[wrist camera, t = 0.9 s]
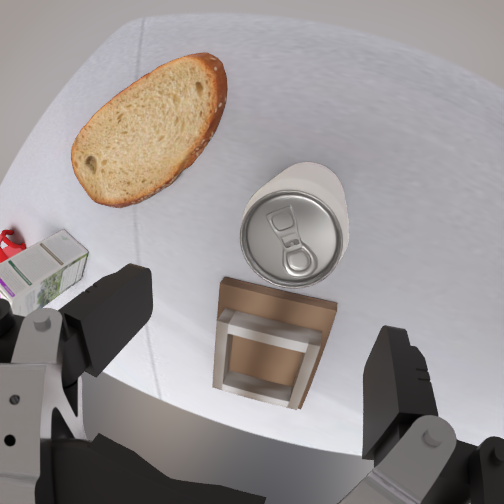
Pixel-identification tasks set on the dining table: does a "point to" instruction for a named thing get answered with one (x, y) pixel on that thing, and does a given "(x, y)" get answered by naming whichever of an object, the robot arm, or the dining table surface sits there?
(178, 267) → the dining table surface
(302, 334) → the board
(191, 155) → the slice of bread
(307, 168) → the can
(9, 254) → the red plastic domed piece
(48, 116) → the dining table surface
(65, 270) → the syrup box
